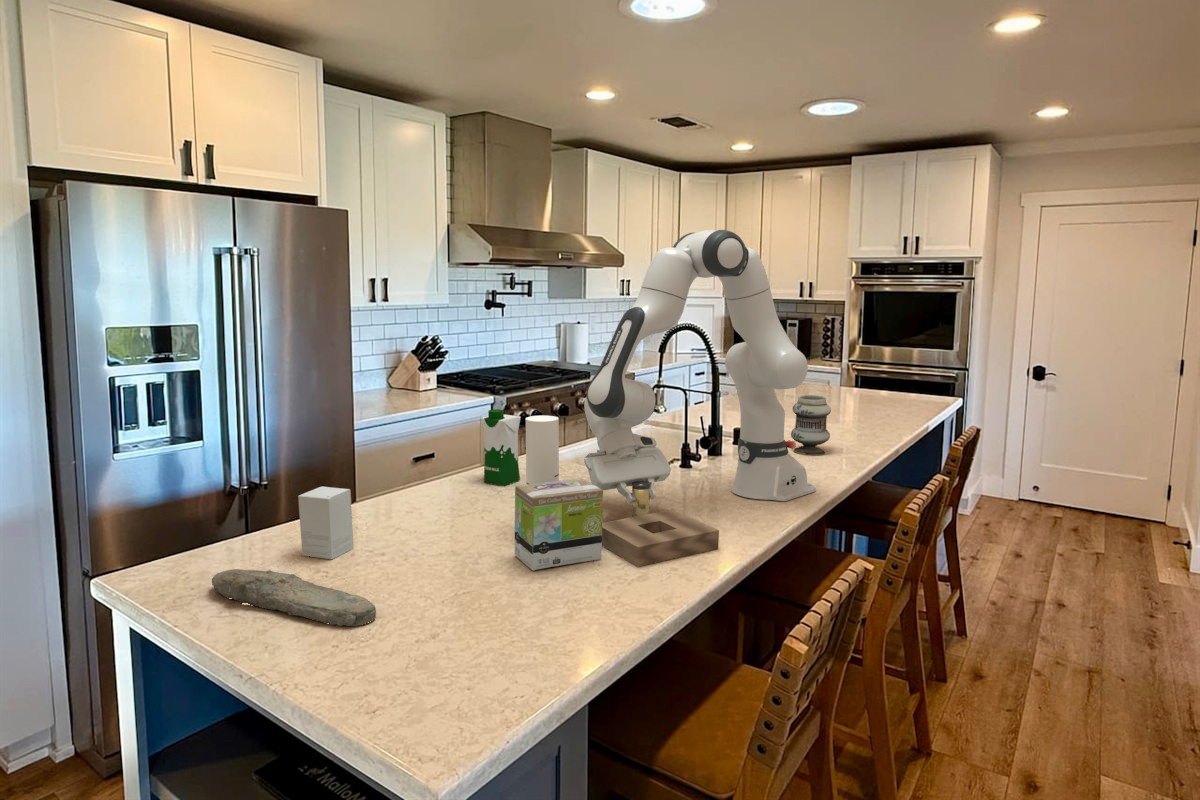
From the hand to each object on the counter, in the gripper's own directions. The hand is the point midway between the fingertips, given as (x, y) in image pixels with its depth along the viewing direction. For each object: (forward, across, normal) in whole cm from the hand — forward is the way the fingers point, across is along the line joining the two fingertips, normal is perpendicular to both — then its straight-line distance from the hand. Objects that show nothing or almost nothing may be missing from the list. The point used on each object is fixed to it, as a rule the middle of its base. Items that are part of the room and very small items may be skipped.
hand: (642, 499), depth 173 cm
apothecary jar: (-18, +86, +26) cm, 92 cm away
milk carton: (-30, -14, +38) cm, 50 cm away
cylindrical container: (-1, -22, +8) cm, 24 cm away
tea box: (+11, -27, -4) cm, 29 cm away
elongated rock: (+9, -76, -1) cm, 77 cm away
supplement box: (-7, -66, +15) cm, 68 cm away
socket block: (+14, -6, -6) cm, 16 cm away
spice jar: (+3, 0, +4) cm, 5 cm away
